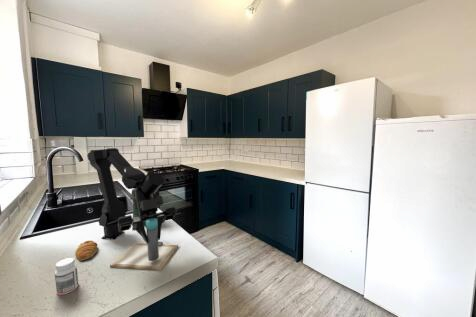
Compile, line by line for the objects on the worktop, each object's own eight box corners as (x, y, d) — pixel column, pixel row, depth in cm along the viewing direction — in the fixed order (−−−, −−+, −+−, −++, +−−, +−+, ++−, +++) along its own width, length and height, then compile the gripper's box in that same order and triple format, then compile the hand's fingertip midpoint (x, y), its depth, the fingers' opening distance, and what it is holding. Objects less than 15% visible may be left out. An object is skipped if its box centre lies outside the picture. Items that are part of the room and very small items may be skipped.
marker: (145, 260, 65) (143, 222, 63) (151, 254, 68) (149, 217, 67) (155, 261, 64) (153, 222, 63) (161, 254, 68) (159, 218, 67)
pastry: (98, 257, 71) (97, 247, 71) (74, 264, 67) (73, 254, 67) (97, 246, 79) (96, 237, 78) (76, 252, 75) (75, 243, 74)
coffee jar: (140, 227, 95) (137, 190, 93) (130, 224, 99) (127, 188, 97) (156, 219, 103) (154, 186, 101) (146, 217, 107) (144, 184, 105)
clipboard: (110, 267, 65) (109, 262, 65) (136, 244, 79) (136, 240, 79) (160, 270, 63) (160, 265, 63) (178, 246, 77) (178, 242, 77)
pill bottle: (65, 283, 58) (63, 257, 57) (82, 282, 58) (79, 256, 58) (52, 296, 53) (48, 267, 52) (70, 294, 54) (67, 266, 53)
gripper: (115, 193, 62) (121, 241, 54) (174, 185, 73) (186, 223, 65) (115, 210, 69) (121, 254, 61) (169, 200, 80) (179, 236, 72)
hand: (153, 241), depth 65 cm, fingers closed on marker, 3 cm apart
